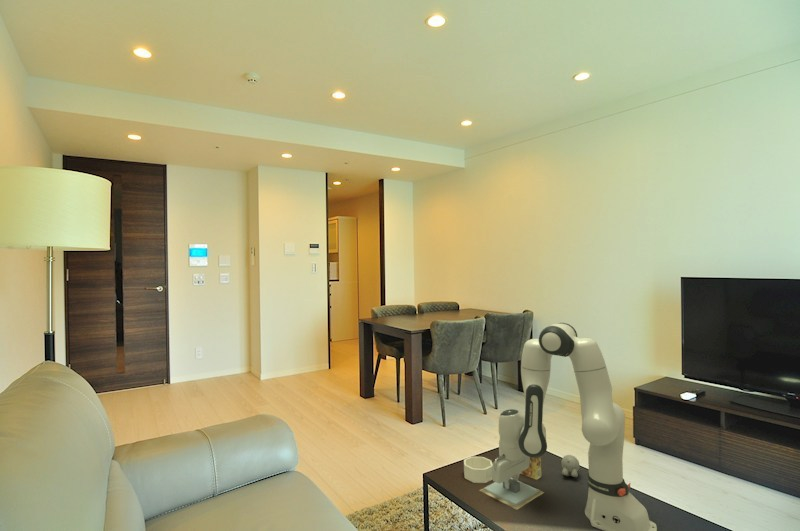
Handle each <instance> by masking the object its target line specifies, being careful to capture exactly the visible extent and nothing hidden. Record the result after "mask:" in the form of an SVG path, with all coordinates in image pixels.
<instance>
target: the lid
mask: <svg viewBox="0 0 800 531" xmlns="http://www.w3.org/2000/svg"><path fill="white" fill-rule="evenodd" d="M512 479H513V477H511V478H509V481H508V482H509V483H510V484H511V488H509V489H506V488H505V483H504V482H502V483H500V484H499V483H497V482H495V481H494V482H495V483H494V482H492V483H493V484H492V483H490V484H491V485H490V484H488V485H489V486H488V485H486V486H487V487H486V486H484V487H485V488H484V487H483V488H484V491H486V492H488V493H490V494H492V495H494V496H496V497H498V498H500V499H502V500H504V501H506V502H508V503H510V504H512V505H514V506H517V505H519V504H521V503H522V502H524V501H526V500H527V499H529V498H530V497H532V496H534V495H535V494H537V493H538V492H539V490H540V489H539V488H535V487H533V486H531V485H529V484H528V483H527V484H526V483H525V482H522V481H520V480H518V482H517V481H514V480H512Z"/></svg>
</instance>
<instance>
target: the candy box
mask: <svg viewBox="0 0 800 531" xmlns="http://www.w3.org/2000/svg"><path fill="white" fill-rule="evenodd" d="M541 458H542V456H541V457H538V458H532V457H529V467H528V469H526V470H524V471H522V472H520V473H519V475H523V476H525V477H528V478H529V479H530V478H531V479H533V480H536V481H538V480H539V479H540V478H542V459H541Z"/></svg>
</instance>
